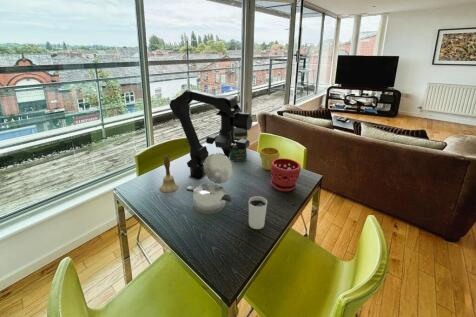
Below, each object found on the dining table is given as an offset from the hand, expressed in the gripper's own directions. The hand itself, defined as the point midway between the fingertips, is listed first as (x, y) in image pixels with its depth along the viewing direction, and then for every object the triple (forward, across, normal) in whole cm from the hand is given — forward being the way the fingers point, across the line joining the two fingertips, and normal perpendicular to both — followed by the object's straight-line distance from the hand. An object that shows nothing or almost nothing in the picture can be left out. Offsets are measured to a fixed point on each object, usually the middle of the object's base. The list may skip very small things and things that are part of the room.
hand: (227, 159), depth 115 cm
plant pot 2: (+13, +25, +9) cm, 30 cm away
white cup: (+13, +22, -22) cm, 34 cm away
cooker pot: (+13, 0, -18) cm, 22 cm away
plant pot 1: (+13, +13, +25) cm, 31 cm away
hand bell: (+13, -23, -14) cm, 30 cm away
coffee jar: (+13, -6, +28) cm, 32 cm away
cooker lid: (0, 0, -10) cm, 10 cm away
